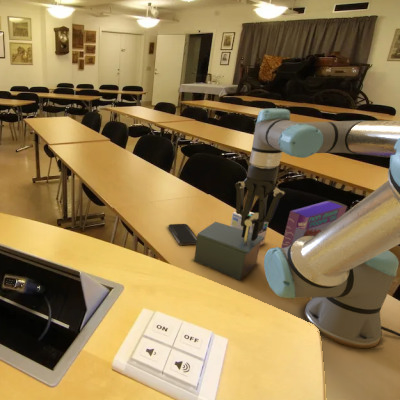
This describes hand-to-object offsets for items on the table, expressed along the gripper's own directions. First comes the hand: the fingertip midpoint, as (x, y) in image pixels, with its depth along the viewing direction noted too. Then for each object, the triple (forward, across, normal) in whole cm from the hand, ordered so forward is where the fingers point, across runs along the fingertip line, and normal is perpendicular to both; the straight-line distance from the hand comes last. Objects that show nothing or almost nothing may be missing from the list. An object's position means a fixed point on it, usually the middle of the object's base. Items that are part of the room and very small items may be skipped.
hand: (249, 237), depth 100 cm
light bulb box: (+12, +7, -20) cm, 25 cm away
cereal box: (+12, -14, -8) cm, 20 cm away
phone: (+12, +26, -7) cm, 30 cm away
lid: (+2, +6, 0) cm, 6 cm away
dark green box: (+12, +6, 0) cm, 14 cm away
